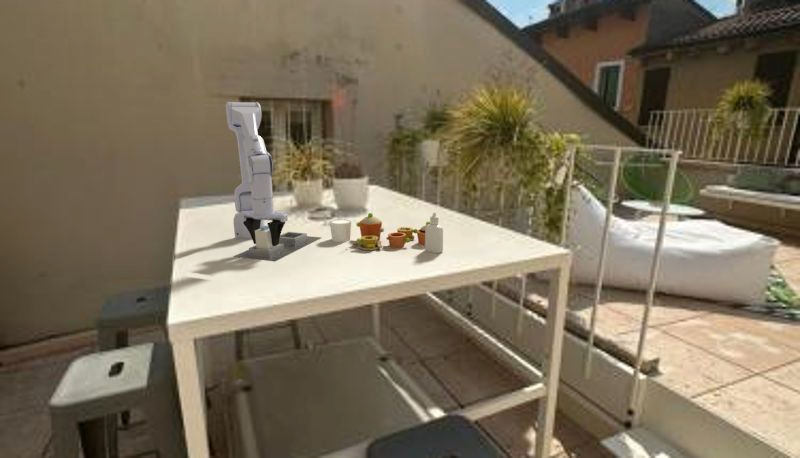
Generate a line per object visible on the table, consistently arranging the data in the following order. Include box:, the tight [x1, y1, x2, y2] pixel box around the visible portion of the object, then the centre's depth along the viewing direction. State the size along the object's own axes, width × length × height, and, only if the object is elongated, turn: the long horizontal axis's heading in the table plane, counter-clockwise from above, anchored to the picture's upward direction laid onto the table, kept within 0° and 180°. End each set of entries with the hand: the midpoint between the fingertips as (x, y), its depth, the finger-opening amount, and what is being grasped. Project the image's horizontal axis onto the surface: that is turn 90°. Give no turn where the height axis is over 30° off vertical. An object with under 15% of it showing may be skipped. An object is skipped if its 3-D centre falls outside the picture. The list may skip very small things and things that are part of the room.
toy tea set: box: [355, 212, 430, 251], centre depth 137 cm, size 26×16×10 cm, turn 103°
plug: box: [255, 225, 275, 250], centre depth 123 cm, size 4×4×8 cm
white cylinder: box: [329, 219, 352, 243], centre depth 137 cm, size 7×7×7 cm
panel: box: [232, 231, 322, 262], centre depth 130 cm, size 14×26×3 cm, turn 161°
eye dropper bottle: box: [424, 211, 444, 254], centre depth 127 cm, size 4×6×12 cm
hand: (266, 244), depth 123 cm, fingers open, 6 cm apart
